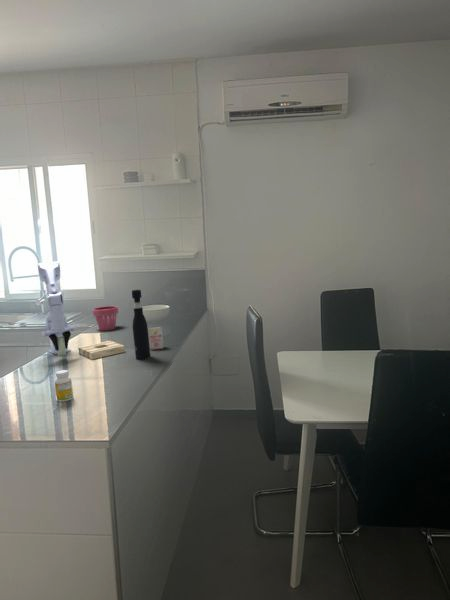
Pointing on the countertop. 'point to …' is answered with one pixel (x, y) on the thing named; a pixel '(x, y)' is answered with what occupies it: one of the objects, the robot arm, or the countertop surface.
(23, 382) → the countertop surface
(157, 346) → the white pink printed box
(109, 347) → the pocket block
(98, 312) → the plant pot
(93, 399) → the countertop surface
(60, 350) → the pin
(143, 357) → the wine bottle
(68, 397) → the supplement bottle
